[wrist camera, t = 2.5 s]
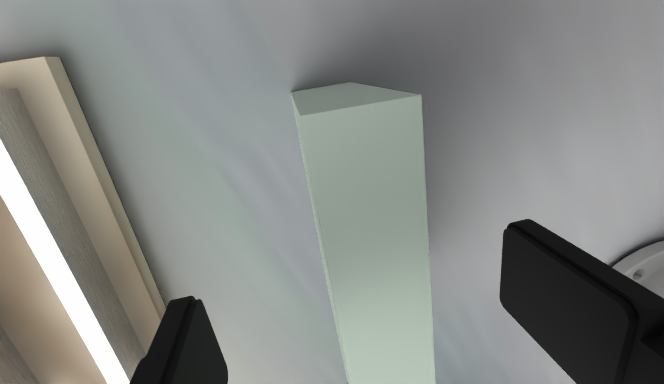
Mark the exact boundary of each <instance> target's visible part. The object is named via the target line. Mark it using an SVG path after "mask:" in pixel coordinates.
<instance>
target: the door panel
mask: <svg viewBox="0 0 664 384" xmlns="http://www.w3.org/2000/svg"><path fill="white" fill-rule="evenodd" d="M291 98H292V103H293V108H294V113H295V119H296V124H297V129H298V134H299V140H300V145H301V150H302V155H303V161H304V166H305V171H306V176H307V182H308V187H309V192H310V197H311V203H312V208H313V213H314V218H315V224H316V229H317V234H318V239H319V245H320V250H321V255H322V260H323V266H324V271H325V276H326V281H327V287H328V292H329V296H330V301H331V306H332V310H333V315H334V320H335V325H336V329H337V334H338V339H339V343H340V348H341V353H342V357H343V362H344V367H345V372H346V376H347V381H348V384H435V365H434V344H433V323H432V303H431V282H430V261H429V240H428V220H427V199H426V178H425V157H424V137H423V116H422V95H419V94H414V93H408V92H403V91H397V90H392V89H386V88H380V87H375V86H369V85H364V84H358V83H353V82H347V83H341V84H336V85H330V86H324V87H318V88H312V89H306V90H300V91H294V92H291Z"/></svg>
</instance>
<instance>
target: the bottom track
mask: <svg viewBox="0 0 664 384" xmlns="http://www.w3.org/2000/svg"><path fill="white" fill-rule="evenodd" d="M165 311H166V307H165V304H164V302H163V300H162V297H161V295H160V293H159V290H158V288H157V286H156V283H155V281H154V279H153V276H152V274H151V272H150V269H149V267H148V264H147V262H146V260H145V257H144V255H143V253H142V250H141V248H140V246H139V243H138V241H137V239H136V236H135V234H134V232H133V229H132V227H131V224H130V222H129V220H128V217H127V215H126V213H125V210H124V208H123V206H122V203H121V201H120V199H119V196H118V194H117V192H116V189H115V187H114V184H113V182H112V180H111V177H110V175H109V173H108V170H107V168H106V166H105V163H104V161H103V159H102V156H101V154H100V152H99V149H98V147H97V144H96V142H95V140H94V137H93V135H92V133H91V130H90V128H89V126H88V123H87V121H86V119H85V116H84V114H83V112H82V109H81V107H80V104H79V102H78V100H77V97H76V95H75V93H74V90H73V88H72V86H71V83H70V81H69V79H68V76H67V74H66V72H65V69H64V67H63V64H62V62H61V60H60V57H37V58H30V59H24V60H17V61H11V62H4V63H0V384H129V383H130V381H131V378H132V376H133V374H134V372H135V370H136V367H137V365H138V363H139V362H140V360H141V359H142V358H144V357H146V355H147V352H148V350H149V348H150V345H151V343H152V341H153V338H154V336H155V334H156V331H157V329H158V327H159V325H160V322H161V320H162V318H163V315H164V313H165Z"/></svg>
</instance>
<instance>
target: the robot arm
mask: <svg viewBox="0 0 664 384" xmlns="http://www.w3.org/2000/svg"><path fill="white" fill-rule="evenodd" d="M500 301H501V303H502V305H503V307H504V308H505V309H506V310H507V312H508V313H509V314H510V315H511V316H512V317H513V318H514V319H515V320H516V321H517V322H518V323H519V324H520V325H521V326H522V327H523V328H524V329H525V330H526V331H527V332H528V333H529V334H530V336H531V337H532V338H533V339H534V340H535V341H536V342H537V343H538V344H539V345H540V346H541V347H542V348H543V349H544V350H545V351H546V352H547V353H548V354H549V355H550V356H551V357H552V358H553V360H554V361H555V362H556V363H557V364H558V365H559V366H560V367H561V368H562V369H563V370H564V371H565V372H566V373H567V374H568V375H569V376H570V377H571V378H572V379H573V380H574V381H575V382H576V384H664V241H661V242H657V243H654V244H651V245H649V246H646V247H644V248H641V249H639V250H637V251H636V252H634V253H632V254H630V255H628V256H627V257H625V258H624V259H622V260H621V261H619V262H618V263H617V264H615V265H614V266H613V267H610V266H608V265H607V264H605V263H603V262H602V261H600V260H598V259H597V258H595V257H593V256H592V255H590V254H588V253H587V252H585V251H583V250H582V249H580V248H578V247H576V246H575V245H573V244H571V243H570V242H568V241H566V240H565V239H563V238H561V237H560V236H558V235H556V234H555V233H553V232H551V231H550V230H548V229H546V228H545V227H543V226H541V225H539V224H538V223H536V222H534V221H533V220H530V219H525V220H521V221H516V222H512V223H510V224H509V225H508V226H507V229H505V230H504V233H503V248H502V265H501V282H500ZM227 382H228V370H227V365H226V363H225V360H224V357H223V355H222V352H221V349H220V347H219V344H218V342H217V339H216V336H215V334H214V331H213V328H212V326H211V323H210V320H209V318H208V315H207V313H206V310H205V307H204V305H203V302H202V300H201V299H198V300H195V298H194V297H193V296H188V297H183V298H179V299H175V300H171V301H170V302H169V304H168V306H167V308H166V311H165V313H164V315H163V318H162V320H161V322H160V325H159V327H158V329H157V331H156V334H155V336H154V338H153V341H152V343H151V345H150V348H149V350H148V352H147V355H146V357H144V358H142V359H141V360H140V362H139V363H138V365H137V367H136V370H135V372H134V374H133V376H132V378H131V381H130V383H129V384H227Z"/></svg>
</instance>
